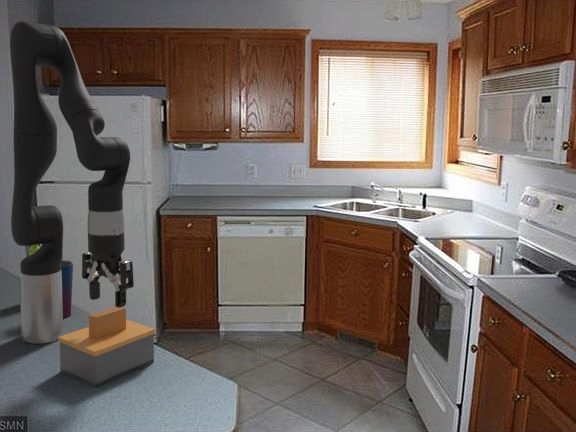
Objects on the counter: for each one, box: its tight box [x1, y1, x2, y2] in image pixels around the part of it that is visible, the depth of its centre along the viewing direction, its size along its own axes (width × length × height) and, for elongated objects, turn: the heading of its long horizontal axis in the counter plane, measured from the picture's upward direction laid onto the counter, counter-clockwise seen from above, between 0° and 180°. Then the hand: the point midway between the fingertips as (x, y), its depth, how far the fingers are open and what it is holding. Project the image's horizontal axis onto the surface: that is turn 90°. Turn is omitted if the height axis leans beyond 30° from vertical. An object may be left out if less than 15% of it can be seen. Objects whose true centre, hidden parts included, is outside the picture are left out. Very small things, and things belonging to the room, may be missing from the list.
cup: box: [61, 259, 74, 319], centre depth 155 cm, size 7×7×15 cm
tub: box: [59, 333, 155, 388], centre depth 126 cm, size 12×16×7 cm
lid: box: [58, 306, 156, 356], centre depth 125 cm, size 12×16×7 cm
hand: (107, 302), depth 124 cm, fingers open, 8 cm apart
